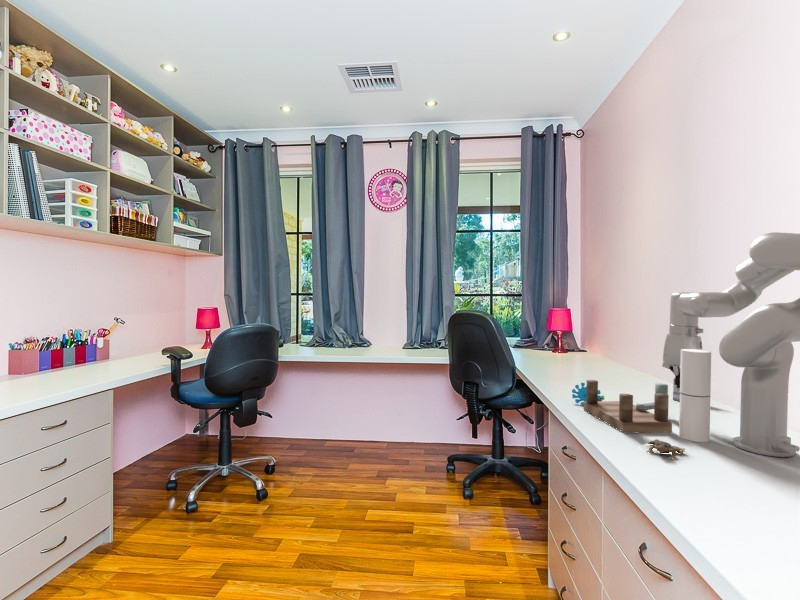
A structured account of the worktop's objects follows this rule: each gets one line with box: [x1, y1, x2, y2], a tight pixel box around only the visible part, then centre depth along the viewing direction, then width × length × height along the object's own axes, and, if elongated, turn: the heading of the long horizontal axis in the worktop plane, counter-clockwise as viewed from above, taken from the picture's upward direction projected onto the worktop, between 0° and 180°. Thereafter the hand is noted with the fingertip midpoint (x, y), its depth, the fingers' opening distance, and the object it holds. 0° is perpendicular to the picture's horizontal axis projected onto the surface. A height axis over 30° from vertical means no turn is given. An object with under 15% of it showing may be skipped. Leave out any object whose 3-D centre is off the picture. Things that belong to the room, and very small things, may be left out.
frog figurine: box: [646, 438, 686, 460], centre depth 110 cm, size 12×12×4 cm
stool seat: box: [583, 379, 673, 433], centre depth 137 cm, size 24×15×11 cm, turn 3°
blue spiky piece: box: [571, 382, 605, 407], centre depth 158 cm, size 11×6×10 cm
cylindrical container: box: [678, 349, 712, 443], centre depth 121 cm, size 7×7×25 cm
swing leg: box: [635, 383, 669, 411], centre depth 140 cm, size 13×4×8 cm, turn 113°
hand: (680, 387), depth 136 cm, fingers closed
